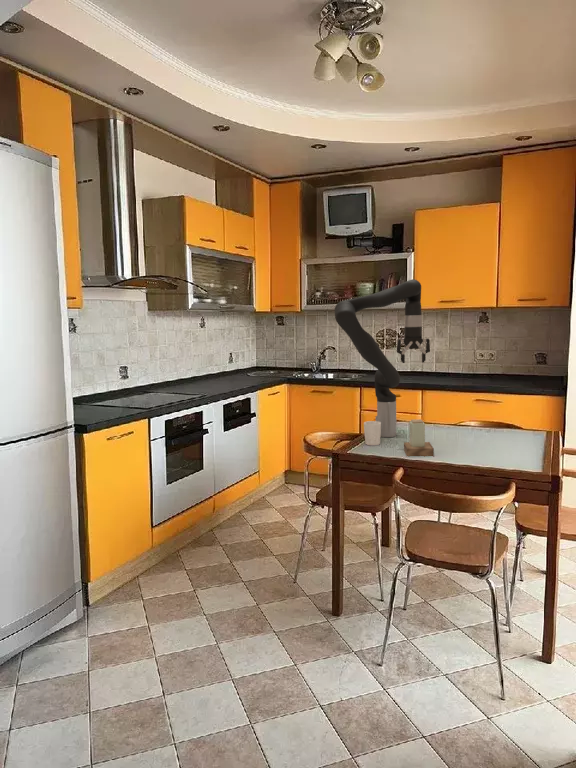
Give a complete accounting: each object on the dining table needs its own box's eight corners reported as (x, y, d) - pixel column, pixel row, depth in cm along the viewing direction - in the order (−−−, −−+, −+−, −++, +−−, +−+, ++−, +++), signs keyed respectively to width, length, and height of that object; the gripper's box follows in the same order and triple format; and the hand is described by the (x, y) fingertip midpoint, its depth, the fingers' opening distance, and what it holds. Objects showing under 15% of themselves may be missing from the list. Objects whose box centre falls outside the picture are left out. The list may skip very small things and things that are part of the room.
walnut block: (407, 457, 241) (407, 448, 240) (403, 451, 252) (403, 442, 251) (433, 457, 240) (433, 448, 239) (429, 450, 251) (429, 442, 250)
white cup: (364, 445, 261) (363, 424, 260) (364, 441, 269) (363, 421, 268) (381, 445, 260) (381, 424, 259) (381, 441, 268) (380, 420, 267)
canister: (412, 447, 243) (411, 422, 241) (409, 443, 248) (409, 419, 246) (424, 446, 243) (424, 421, 241) (422, 443, 248) (421, 419, 246)
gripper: (398, 326, 246) (398, 364, 248) (431, 325, 246) (431, 363, 248) (395, 326, 253) (395, 362, 256) (427, 324, 253) (427, 361, 255)
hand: (413, 362), depth 252 cm, fingers open, 8 cm apart
